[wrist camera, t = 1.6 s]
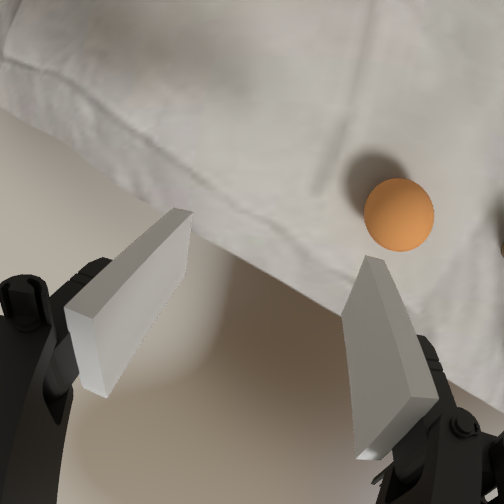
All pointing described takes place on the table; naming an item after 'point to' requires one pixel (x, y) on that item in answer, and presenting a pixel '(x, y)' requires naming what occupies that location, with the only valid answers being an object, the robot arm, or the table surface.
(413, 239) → the ball
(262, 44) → the table surface
